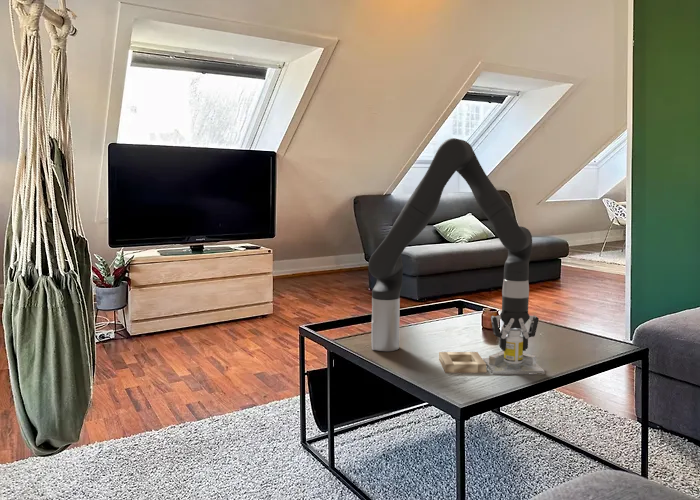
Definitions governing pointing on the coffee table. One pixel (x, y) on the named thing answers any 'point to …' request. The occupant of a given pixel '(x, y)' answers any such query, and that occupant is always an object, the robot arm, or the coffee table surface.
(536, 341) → the coffee table surface
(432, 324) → the coffee table surface
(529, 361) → the v block
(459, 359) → the square frame block
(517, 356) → the supplement bottle
